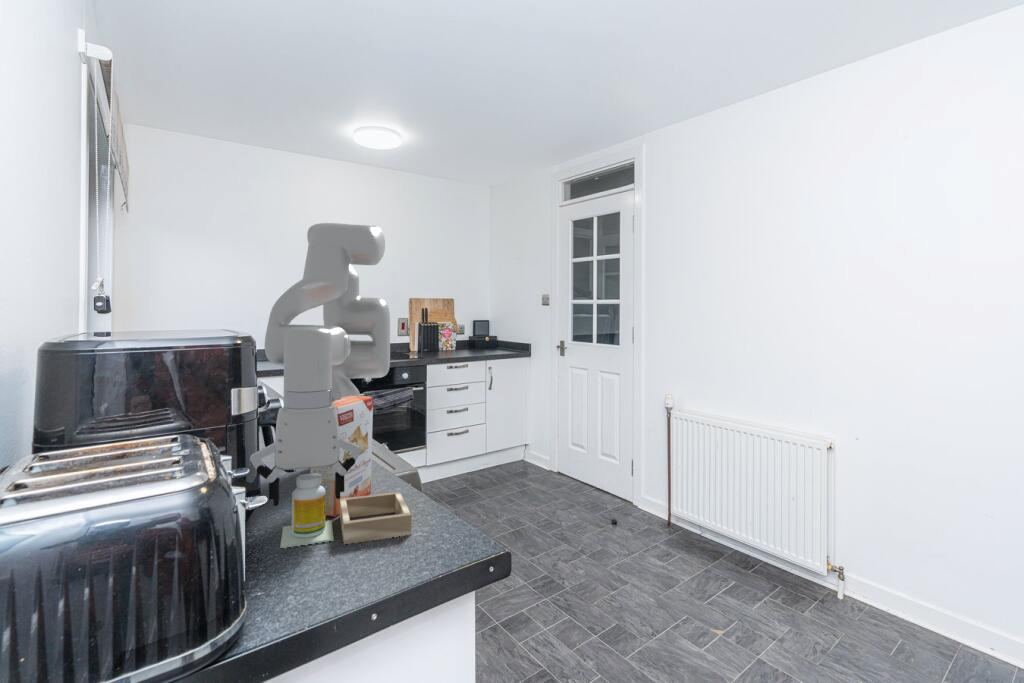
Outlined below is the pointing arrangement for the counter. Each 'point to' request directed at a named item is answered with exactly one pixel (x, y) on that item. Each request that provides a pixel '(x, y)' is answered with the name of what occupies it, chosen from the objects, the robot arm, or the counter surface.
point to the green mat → (291, 540)
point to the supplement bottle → (308, 506)
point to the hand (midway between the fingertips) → (307, 499)
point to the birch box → (374, 526)
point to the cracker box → (357, 430)
